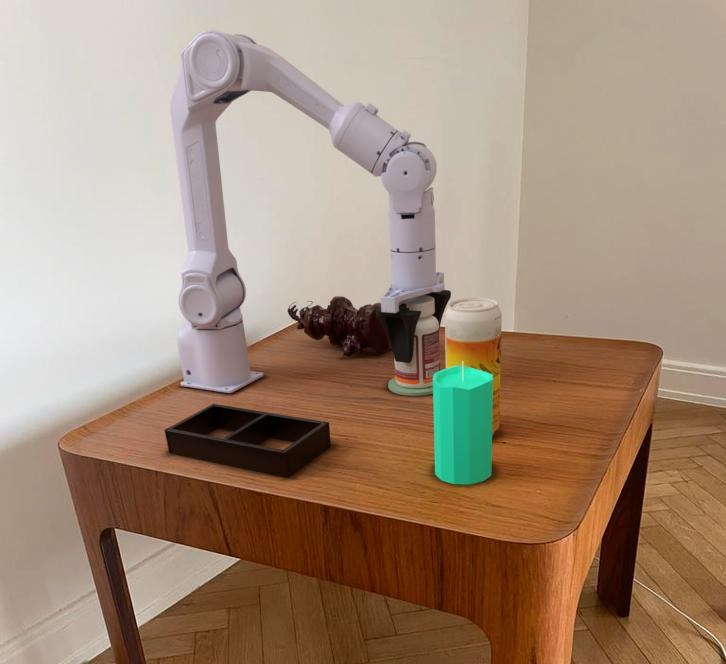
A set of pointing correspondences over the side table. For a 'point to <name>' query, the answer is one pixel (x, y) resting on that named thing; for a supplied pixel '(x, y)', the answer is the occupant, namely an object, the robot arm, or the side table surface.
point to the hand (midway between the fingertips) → (416, 352)
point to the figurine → (344, 325)
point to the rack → (249, 439)
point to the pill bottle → (421, 348)
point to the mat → (408, 389)
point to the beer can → (476, 341)
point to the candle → (463, 424)
